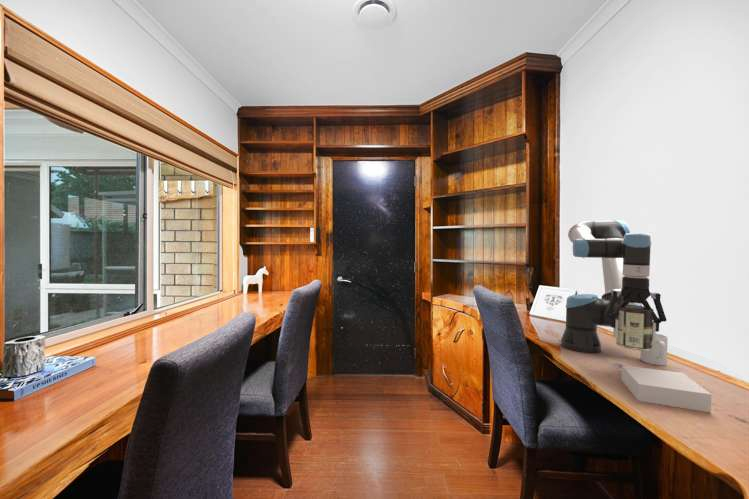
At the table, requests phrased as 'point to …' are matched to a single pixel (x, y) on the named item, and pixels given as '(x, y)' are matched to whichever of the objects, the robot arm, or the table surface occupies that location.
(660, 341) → the mug
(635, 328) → the coffee can
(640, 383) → the base
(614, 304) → the robot arm
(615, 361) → the table surface
